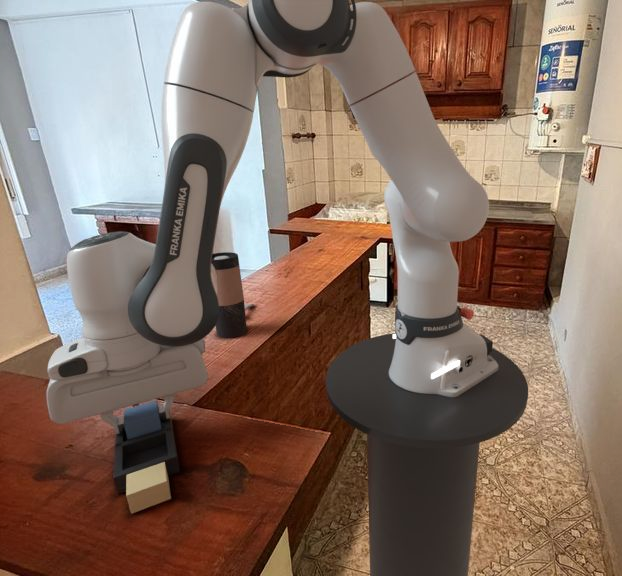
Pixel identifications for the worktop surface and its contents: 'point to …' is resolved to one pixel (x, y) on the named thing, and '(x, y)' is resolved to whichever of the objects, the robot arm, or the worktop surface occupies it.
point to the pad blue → (142, 420)
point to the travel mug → (229, 296)
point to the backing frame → (144, 453)
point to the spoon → (248, 306)
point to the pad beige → (147, 487)
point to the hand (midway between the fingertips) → (143, 424)
